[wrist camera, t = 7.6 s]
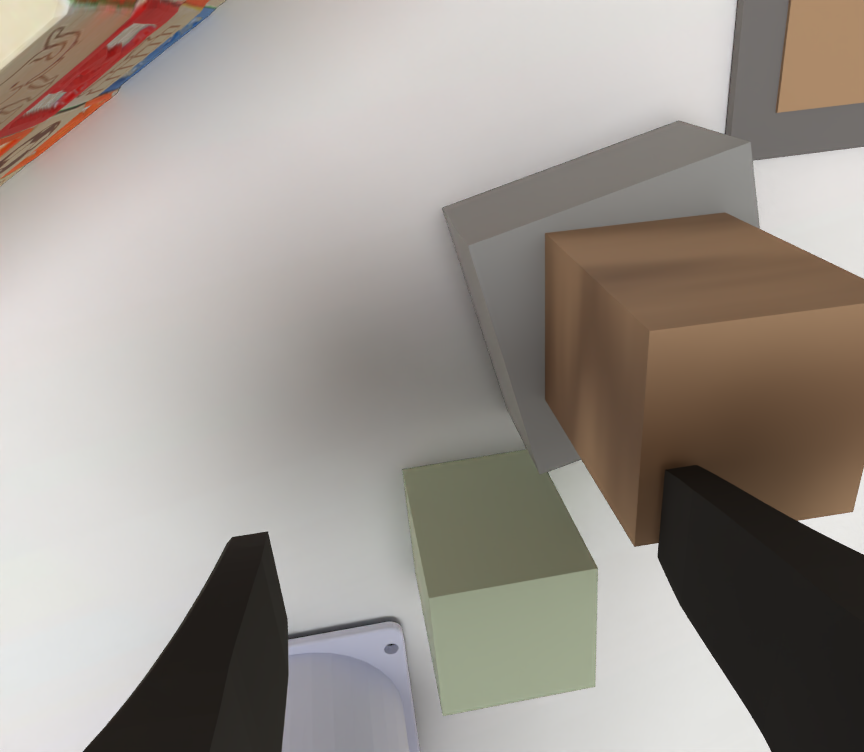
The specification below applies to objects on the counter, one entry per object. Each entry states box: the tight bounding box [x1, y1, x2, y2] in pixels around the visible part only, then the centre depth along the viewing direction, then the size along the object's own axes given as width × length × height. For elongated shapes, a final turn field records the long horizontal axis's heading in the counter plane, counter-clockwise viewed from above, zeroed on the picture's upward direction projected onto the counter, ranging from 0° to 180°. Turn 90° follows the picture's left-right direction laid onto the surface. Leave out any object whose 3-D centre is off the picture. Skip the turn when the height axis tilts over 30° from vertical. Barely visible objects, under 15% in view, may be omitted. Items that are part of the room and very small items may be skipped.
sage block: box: [402, 449, 598, 716], centre depth 23 cm, size 4×4×6 cm
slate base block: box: [442, 121, 760, 474], centre depth 20 cm, size 7×7×4 cm
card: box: [726, 0, 864, 160], centre depth 20 cm, size 6×6×1 cm
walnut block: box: [545, 213, 864, 547], centre depth 16 cm, size 4×4×6 cm
